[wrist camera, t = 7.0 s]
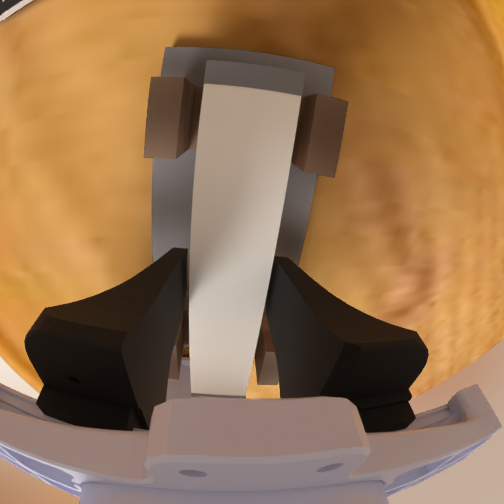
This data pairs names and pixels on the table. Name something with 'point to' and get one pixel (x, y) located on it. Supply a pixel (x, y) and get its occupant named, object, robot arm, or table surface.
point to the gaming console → (11, 7)
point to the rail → (236, 216)
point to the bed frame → (184, 155)
